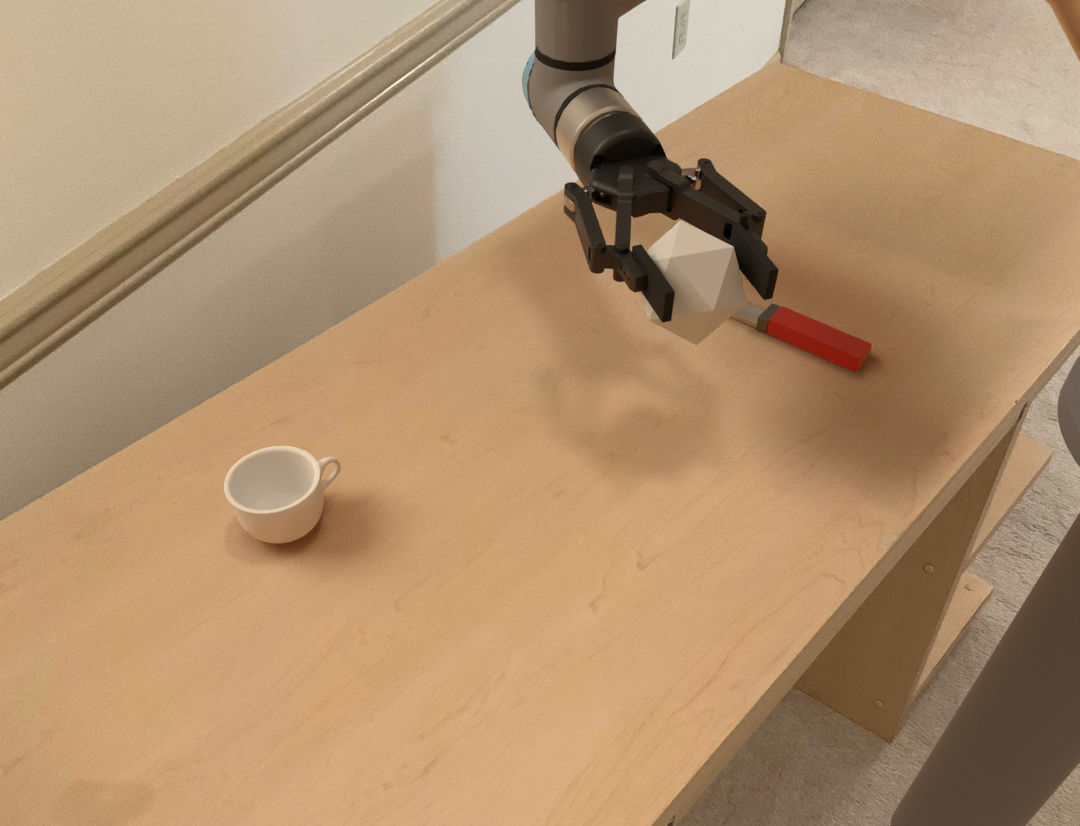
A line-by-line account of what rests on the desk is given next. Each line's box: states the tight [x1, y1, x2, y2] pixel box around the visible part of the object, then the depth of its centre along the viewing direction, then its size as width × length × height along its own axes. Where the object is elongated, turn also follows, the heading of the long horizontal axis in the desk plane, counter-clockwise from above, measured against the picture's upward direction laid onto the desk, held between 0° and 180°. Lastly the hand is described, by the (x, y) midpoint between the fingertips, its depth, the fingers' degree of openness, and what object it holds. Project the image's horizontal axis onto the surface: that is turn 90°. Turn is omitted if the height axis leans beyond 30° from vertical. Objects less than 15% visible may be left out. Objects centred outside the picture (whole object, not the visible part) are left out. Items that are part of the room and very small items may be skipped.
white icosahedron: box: [638, 219, 748, 346], centre depth 82 cm, size 8×9×10 cm
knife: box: [730, 301, 873, 373], centre depth 105 cm, size 27×3×2 cm, turn 53°
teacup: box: [223, 445, 342, 544], centre depth 85 cm, size 10×8×5 cm
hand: (720, 295), depth 78 cm, fingers closed on white icosahedron, 8 cm apart
